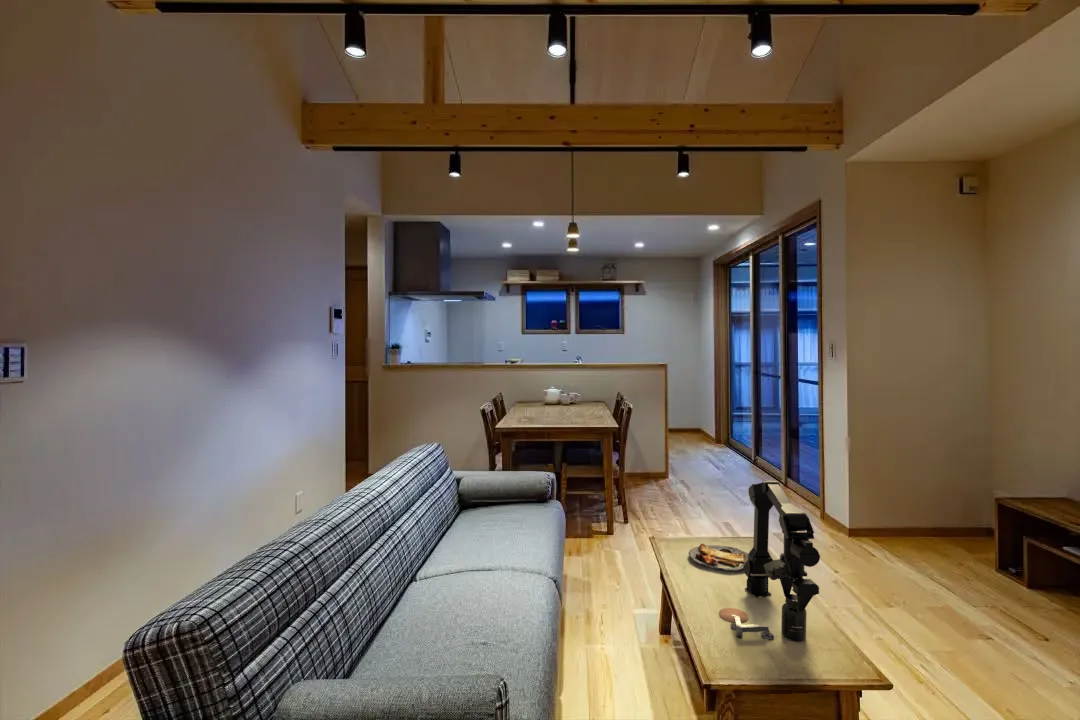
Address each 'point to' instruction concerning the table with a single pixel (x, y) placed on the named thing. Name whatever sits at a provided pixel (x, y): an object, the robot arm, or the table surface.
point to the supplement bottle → (793, 620)
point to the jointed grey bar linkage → (751, 629)
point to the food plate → (719, 556)
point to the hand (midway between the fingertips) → (793, 604)
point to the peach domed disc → (733, 614)
